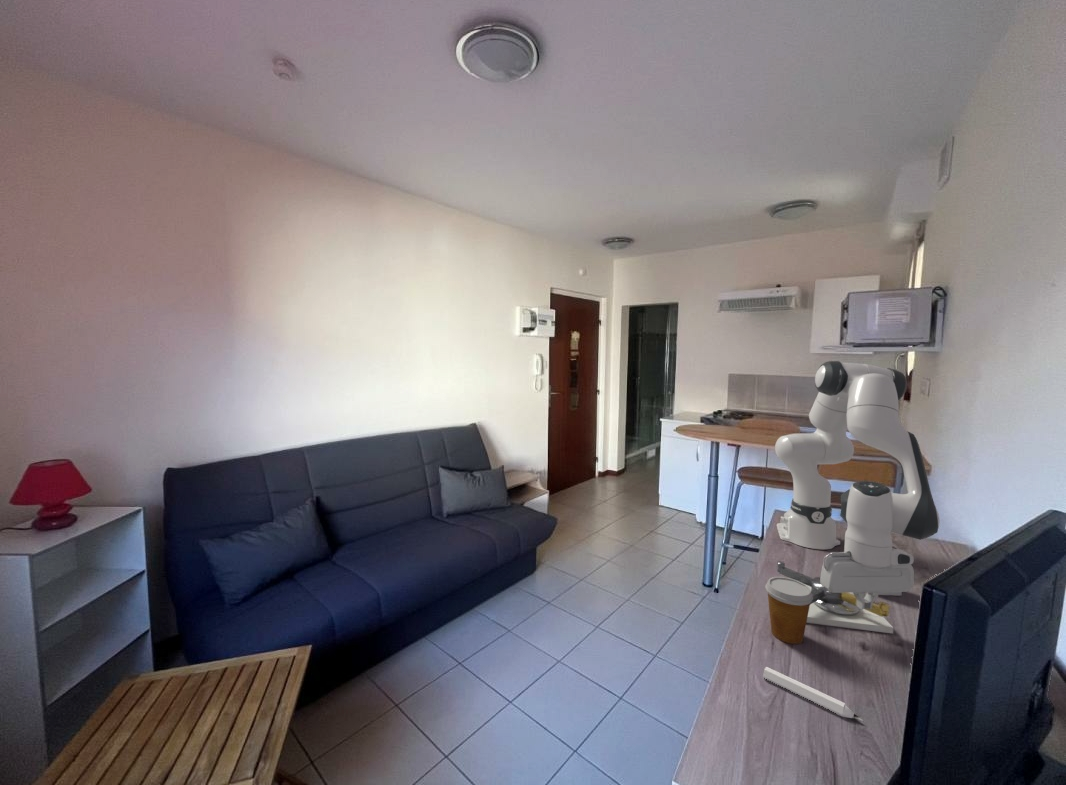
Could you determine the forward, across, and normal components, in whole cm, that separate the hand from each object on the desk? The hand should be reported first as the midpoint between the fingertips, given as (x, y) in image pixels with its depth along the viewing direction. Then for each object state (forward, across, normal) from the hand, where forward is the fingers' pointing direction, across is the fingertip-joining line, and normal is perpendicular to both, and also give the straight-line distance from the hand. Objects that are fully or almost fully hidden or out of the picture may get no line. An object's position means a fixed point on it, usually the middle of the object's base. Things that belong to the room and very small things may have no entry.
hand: (864, 607), depth 101 cm
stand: (+5, -2, +9) cm, 11 cm away
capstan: (+3, -2, +9) cm, 10 cm away
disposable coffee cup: (+6, -20, -2) cm, 21 cm away
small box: (+5, +18, +17) cm, 25 cm away
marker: (+6, -27, -20) cm, 34 cm away
